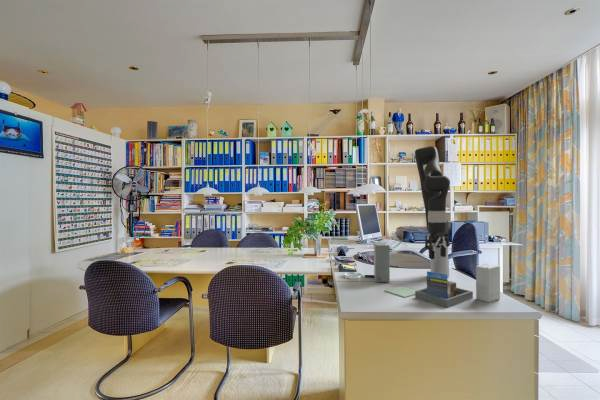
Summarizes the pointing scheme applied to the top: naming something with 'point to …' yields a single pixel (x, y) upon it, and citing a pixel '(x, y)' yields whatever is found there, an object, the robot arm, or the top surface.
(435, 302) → the parts bin
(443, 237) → the robot arm
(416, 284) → the top surface
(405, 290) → the mat
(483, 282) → the skincare box
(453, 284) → the walnut block
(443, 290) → the label tape box
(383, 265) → the hard drive box
